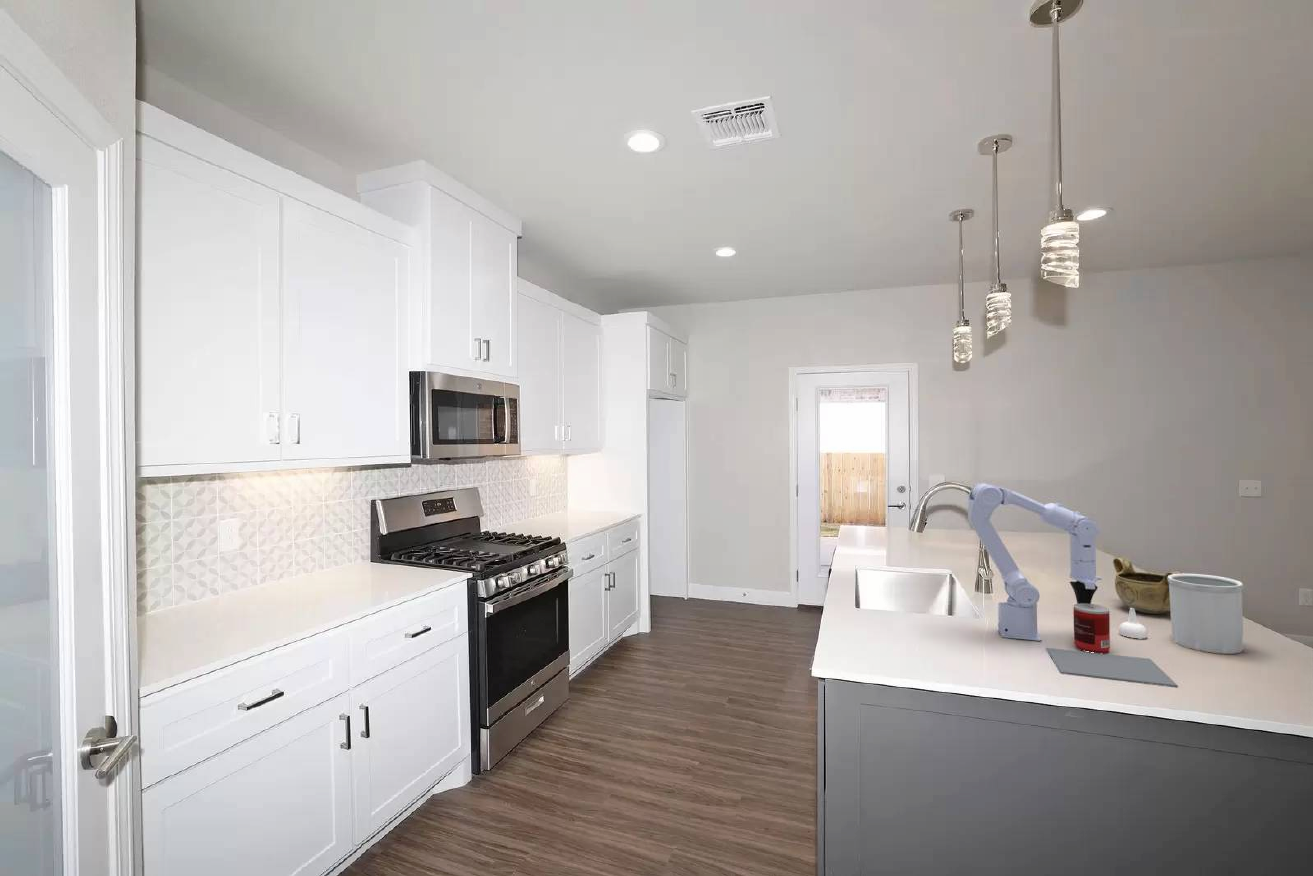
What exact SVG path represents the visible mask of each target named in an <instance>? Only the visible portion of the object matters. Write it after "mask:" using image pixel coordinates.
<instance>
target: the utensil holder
mask: <svg viewBox="0 0 1313 876" xmlns="http://www.w3.org/2000/svg"><path fill="white" fill-rule="evenodd" d="M1168 582H1169V593H1170V611H1169V612H1170V623H1171V637H1172V641H1173V642H1174V641H1175V642H1176V643H1175V642H1174V643H1175V644H1177V643H1178V644H1177V645H1179V644H1180V645H1179V646H1181V645H1182V646H1181V647H1184V646H1186V647H1185V648H1187V647H1189V648H1188V649H1191V648H1192V649H1191V650H1196V651H1200V650H1201V651H1200V652H1206V653H1212V654H1223V655H1224V654H1225V655H1227V654H1228V655H1231V654H1239V653H1241V652H1242V651H1243V645H1244V644H1243V638H1244V637H1243V636H1244V632H1243V631H1244V626H1243V625H1244V624H1243V616H1244V615H1243V593H1242V592H1243V590H1244V584H1243V583H1242V582H1241V581H1240V580H1236V579H1233V578H1229V577H1223V576H1218V575H1210V574H1202V573H1201V574H1200V573H1183V574H1172V575H1169V576H1168Z"/></svg>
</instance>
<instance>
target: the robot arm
mask: <svg viewBox="0 0 1313 876" xmlns="http://www.w3.org/2000/svg"><path fill="white" fill-rule="evenodd" d="M967 499H968V507H967V508H968V509H967V511H968V512H967V520H968V522H969V523H970V525H971V527H972V529H973V531H974V532H975V533H976V535H977V537H978V539H979V540H980V542H981V544H983V547H984V548H985V550H986V552H987V554H988V555H989V557H990V559H991V560H992V561H993V563H994V565H995V566H996V568H997V570H998V572H999V573H1000V576H1001V580H1002V581H1003V583H1004V591H1005V593H1006V594H1007V595H1008V597H1007V599H1006V601H1005V602H998V607H997V608H998V609H997V611H998V612H997V614H998V620H997V621H998V622H997V627H998V631H999V634H1000V636H1001V637H1002V638H1007V639H1008V638H1009V639H1018V640H1027V641H1028V640H1029V641H1030V640H1031V641H1037V642H1041V641H1042V638H1041V636H1040V635H1039V633H1038V602H1039V601H1040V598H1041V597H1040V592H1039V589H1038V588H1036V586H1034V585H1033V584H1031V583H1030V582H1029V581H1028V579H1027V577H1026V576H1025V575H1024V574H1023V573H1022V571H1021V570H1020V568H1019V567H1018V566H1017V563H1016V562H1015V560H1014V558H1013V557H1012V555H1011V554H1010V552H1009V551H1008V548H1007V547H1006V545H1005V543H1004V542H1003V541H1002V539H1001V538H1000V535H999V534H998V532H997V530H996V529H995V527H994V526H993V524H992V522H991V517H992V515H993V512H994V511H995V510H996V509H997V508H998V507H999V506H1000V505H1003V506H1007V505H1015V506H1017V507H1020V508H1021V509H1024V510H1027V511H1030V512H1032V513H1035V514H1038V515H1039V518H1040V520H1041V521H1042V522H1043V523H1046V524H1048V525H1050V526H1054V527H1055V528H1057V529H1060V530H1062V531H1065V532H1068V533H1069V535H1070V537H1069V540H1070V542H1069V543H1070V545H1069V547H1070V548H1069V549H1070V550H1069V551H1070V552H1069V554H1070V555H1069V556H1070V559H1069V560H1070V562H1069V563H1070V573H1069V578H1070V579H1072V580H1075V581H1069V584H1070V586H1071V588H1072V589H1073V593H1074V596H1075V600H1076V604H1079V603H1087V604H1092V600H1093V597H1094V594H1095V593H1096V591H1097V590H1098V589H1099V588H1098V586H1097V585H1096V582H1097V581H1102V577H1101V576H1100V575H1097V555H1096V553H1097V552H1096V550H1097V546H1096V537H1097V536H1099V534H1100V530H1101V528H1100V527H1099V526H1098V523H1097V522H1096V521H1095V520H1094V519H1092V518H1090V517H1087V516H1084V515H1082V514H1081V512H1079V511H1077V510H1075V511H1073V510H1071V509H1067V508H1065V507H1063V506H1064V505H1063V504H1062V503H1059V502H1055V503H1054V502H1050V503H1045V504H1043V503H1041V502H1038V500H1037V501H1036V500H1034V499H1032V498H1031V497H1028V496H1025V495H1024V494H1021V493H1019V492H1016V491H1015V490H1011V489H1008V488H1005V487H1000V486H998V485H993V484H989V483H988V482H978V483H976V484H975V485H973V486H972V488H971V490H970V492H969V494H968V496H967Z"/></svg>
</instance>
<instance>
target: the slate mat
mask: <svg viewBox="0 0 1313 876" xmlns="http://www.w3.org/2000/svg"><path fill="white" fill-rule="evenodd" d="M1046 649H1047V650H1048V651H1047V650H1046ZM1046 649H1045V650H1046V651H1047V653H1048V655H1049V654H1050V655H1049V656H1050V658H1051V657H1052V658H1051V659H1053V660H1052V661H1053V663H1054V664H1056V665H1055V666H1056V668H1057V670H1058V669H1059V670H1058V671H1059V673H1060V674H1063V673H1066V674H1065V675H1073V676H1081V677H1090V678H1095V679H1096V678H1098V679H1099V678H1100V679H1105V678H1106V679H1107V680H1114V681H1120V682H1121V681H1122V682H1123V681H1124V682H1130V681H1131V683H1138V682H1144V683H1143V684H1147V683H1153V684H1152V685H1155V684H1159V685H1158V686H1163V685H1167V686H1166V687H1173V688H1178V687H1179V686H1178V684H1177V683H1176V682H1175V681H1174V680H1173V679H1172V678H1171V677H1170V676H1168V674H1167V673H1166V672H1165V671H1164V670H1163V669H1161V668H1160V667H1159V666H1158V665H1157V664H1156V662H1154V661H1153V660H1152V659H1151V658H1147V657H1146V658H1145V657H1138V656H1137V657H1136V656H1129V655H1118V654H1108V653H1104V654H1101V653H1091V652H1085V651H1082V650H1070V649H1061V648H1053V647H1052V648H1051V647H1046Z"/></svg>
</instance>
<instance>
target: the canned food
mask: <svg viewBox="0 0 1313 876" xmlns="http://www.w3.org/2000/svg"><path fill="white" fill-rule="evenodd" d="M1072 613H1073V644H1074V646H1076V647H1077V648H1078V649H1077V648H1076V647H1075V648H1076V649H1077V650H1079V649H1080V650H1079V651H1082V650H1085V651H1089V652H1094V653H1104V654H1107V653H1106V652H1108V651H1109V652H1110V650H1111V644H1110V643H1111V641H1110V639H1111V636H1110V635H1111V634H1110V633H1111V632H1110V631H1111V629H1110V628H1111V623H1110V616H1111V615H1110V609H1109V608H1108V607H1106V606H1104V605H1100V604H1096V603H1091V604H1087V603H1079V604H1077V603H1075V604H1073V611H1072ZM1085 651H1084V652H1085ZM1109 652H1108V653H1109Z"/></svg>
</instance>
